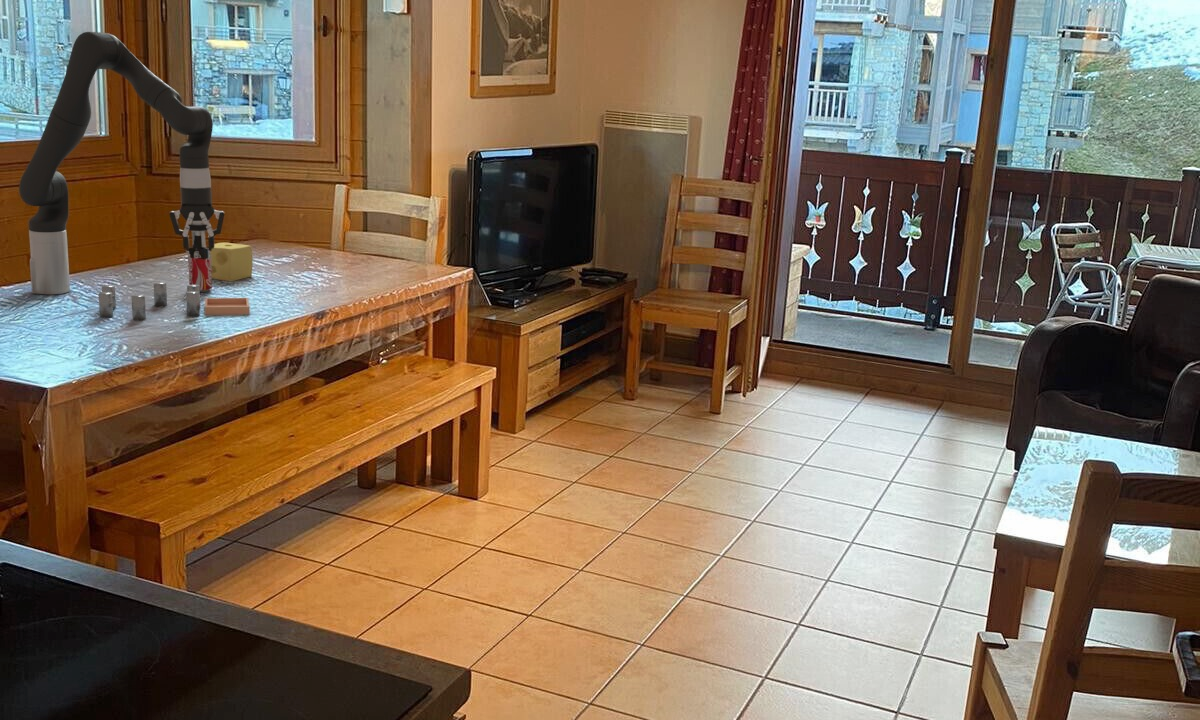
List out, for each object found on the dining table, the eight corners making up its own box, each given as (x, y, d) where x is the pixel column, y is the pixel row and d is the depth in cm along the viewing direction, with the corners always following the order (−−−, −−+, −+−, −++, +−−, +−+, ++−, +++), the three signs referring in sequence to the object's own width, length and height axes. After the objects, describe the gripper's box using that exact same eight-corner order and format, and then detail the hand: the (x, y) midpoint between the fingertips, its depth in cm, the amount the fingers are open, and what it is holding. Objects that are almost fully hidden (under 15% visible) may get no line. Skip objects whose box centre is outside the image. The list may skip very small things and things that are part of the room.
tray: (205, 315, 299) (204, 307, 298) (205, 305, 309) (205, 298, 308) (249, 314, 302) (249, 306, 302) (248, 305, 312) (248, 297, 312)
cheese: (203, 278, 345) (202, 245, 342) (227, 272, 354) (226, 241, 352) (231, 282, 341) (230, 249, 339) (254, 276, 351) (253, 244, 348)
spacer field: (97, 320, 286) (96, 297, 284) (104, 304, 303) (103, 282, 302) (199, 319, 294) (198, 296, 292) (200, 303, 311) (199, 282, 310)
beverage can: (204, 293, 323) (203, 252, 320) (184, 291, 325) (183, 250, 322) (216, 289, 329) (215, 248, 326) (196, 287, 331) (195, 246, 327)
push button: (180, 258, 297) (178, 220, 294) (193, 255, 302) (191, 217, 299) (202, 260, 295) (200, 222, 292) (214, 257, 300) (212, 219, 297)
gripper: (165, 186, 288) (169, 253, 292) (224, 187, 292) (227, 252, 296) (167, 183, 295) (171, 248, 299) (225, 184, 299) (228, 248, 303)
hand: (199, 250), depth 298 cm, fingers closed on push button, 5 cm apart
